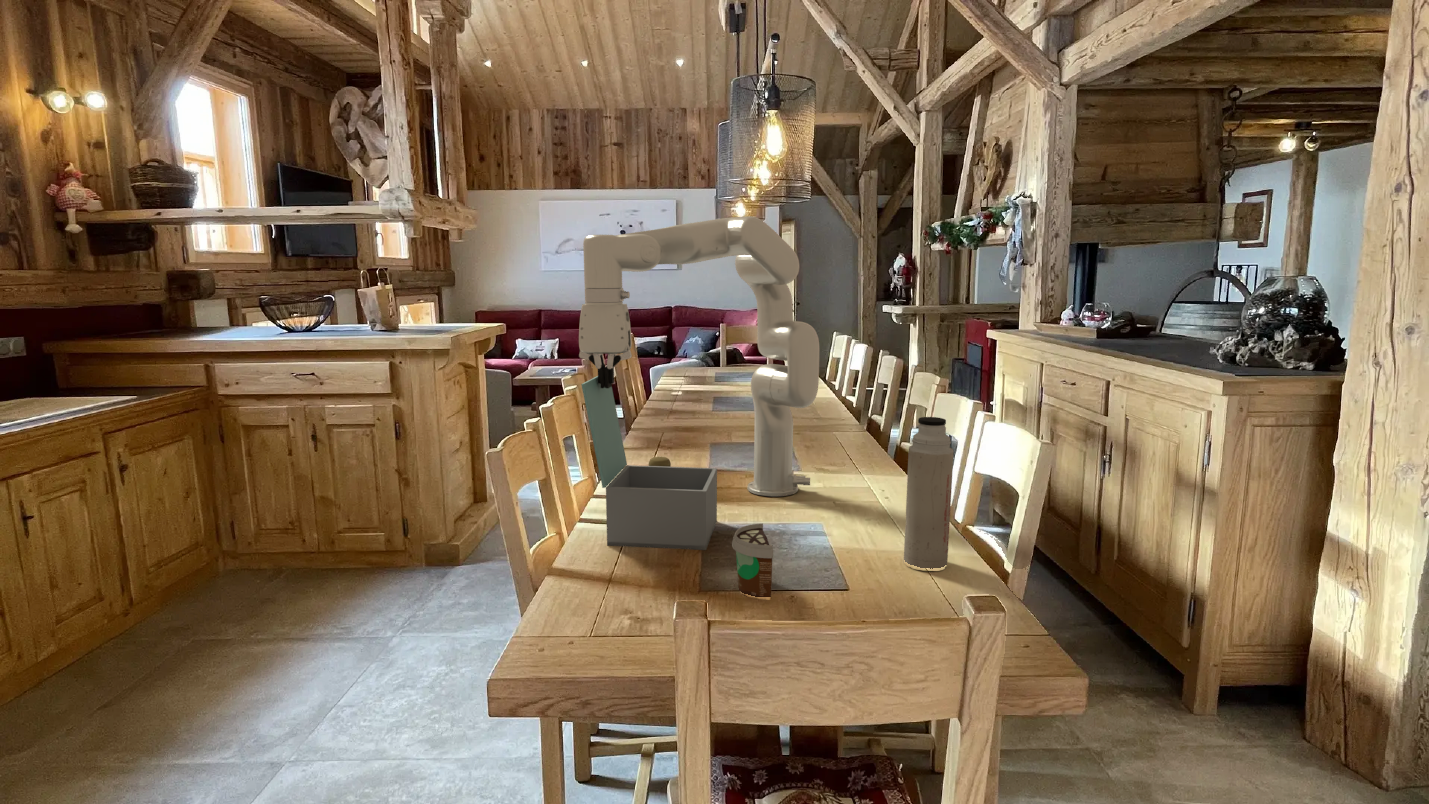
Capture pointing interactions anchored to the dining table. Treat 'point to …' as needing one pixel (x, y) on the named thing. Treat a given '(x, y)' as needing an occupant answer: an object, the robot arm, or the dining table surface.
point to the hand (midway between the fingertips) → (606, 387)
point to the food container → (753, 560)
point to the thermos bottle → (928, 495)
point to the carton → (662, 507)
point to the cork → (659, 461)
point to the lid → (604, 430)
